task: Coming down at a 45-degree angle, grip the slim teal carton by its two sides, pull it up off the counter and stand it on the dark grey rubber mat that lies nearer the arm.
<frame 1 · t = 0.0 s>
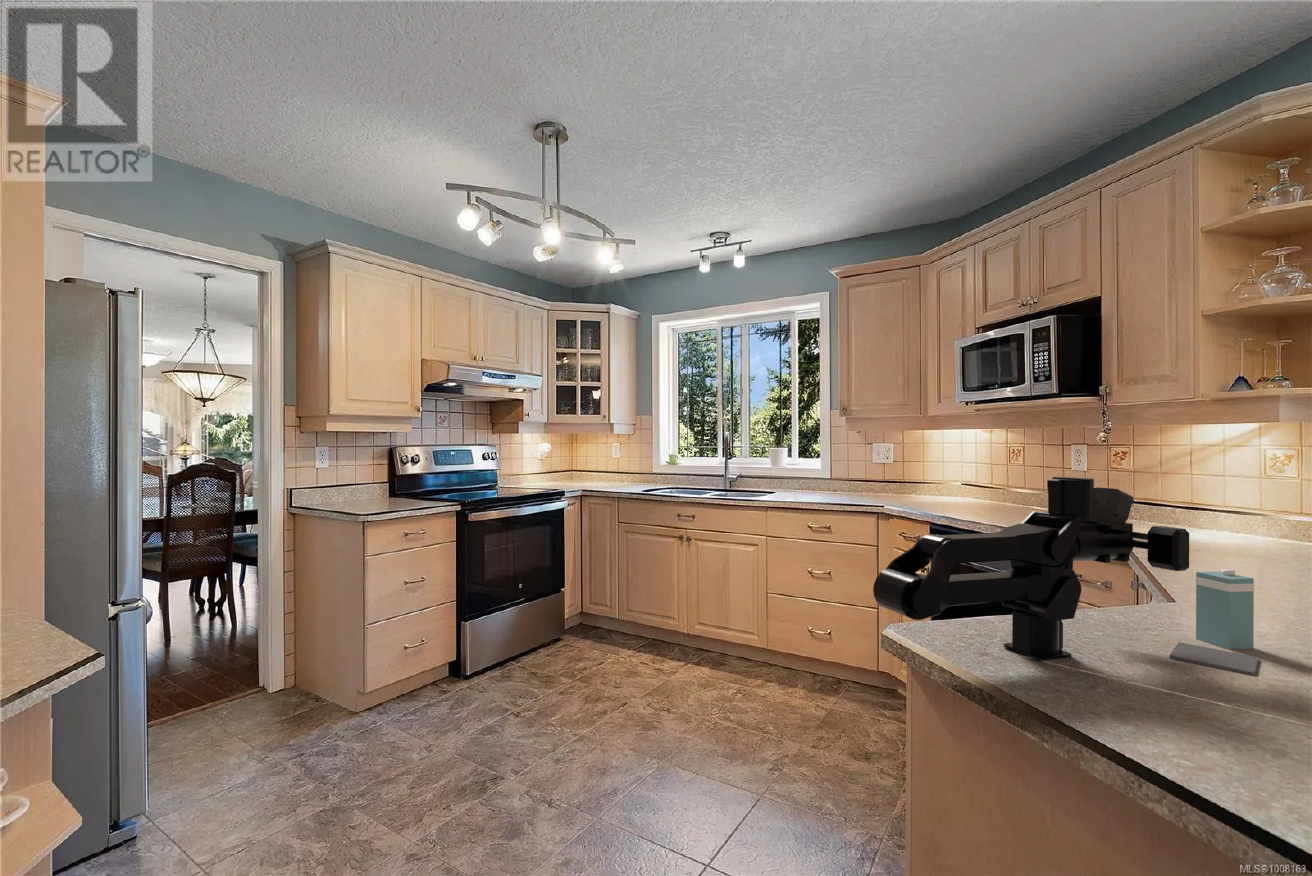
hand: (1156, 538, 99), 16 cm above the countertop, tool horizontal, fingers open, 9 cm apart
mat: (1213, 658, 89), on the countertop
carton: (1224, 643, 96), on the countertop
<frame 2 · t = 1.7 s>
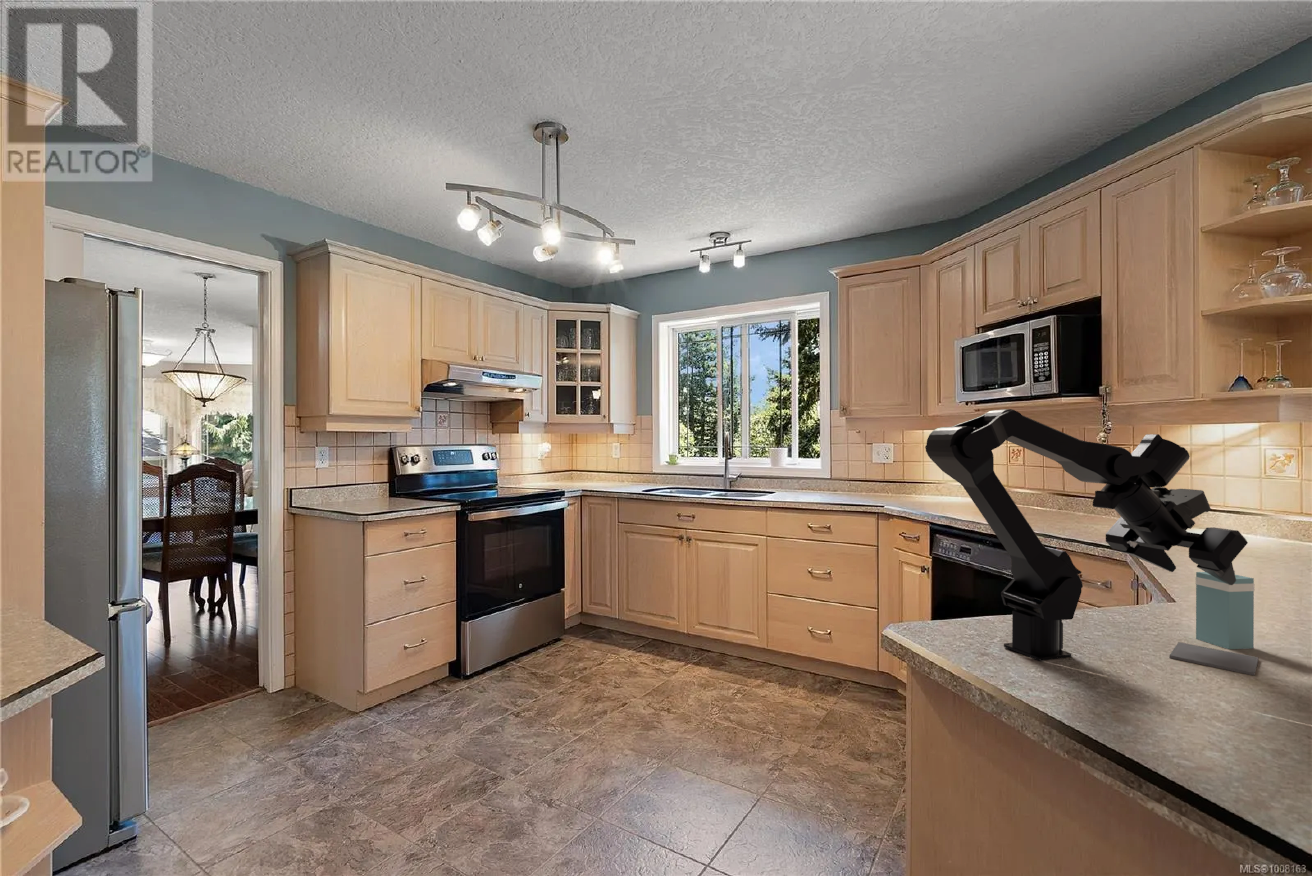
hand: (1201, 576, 96), 11 cm above the countertop, tool tilted 45°, fingers open, 9 cm apart
nothing on the countertop moved.
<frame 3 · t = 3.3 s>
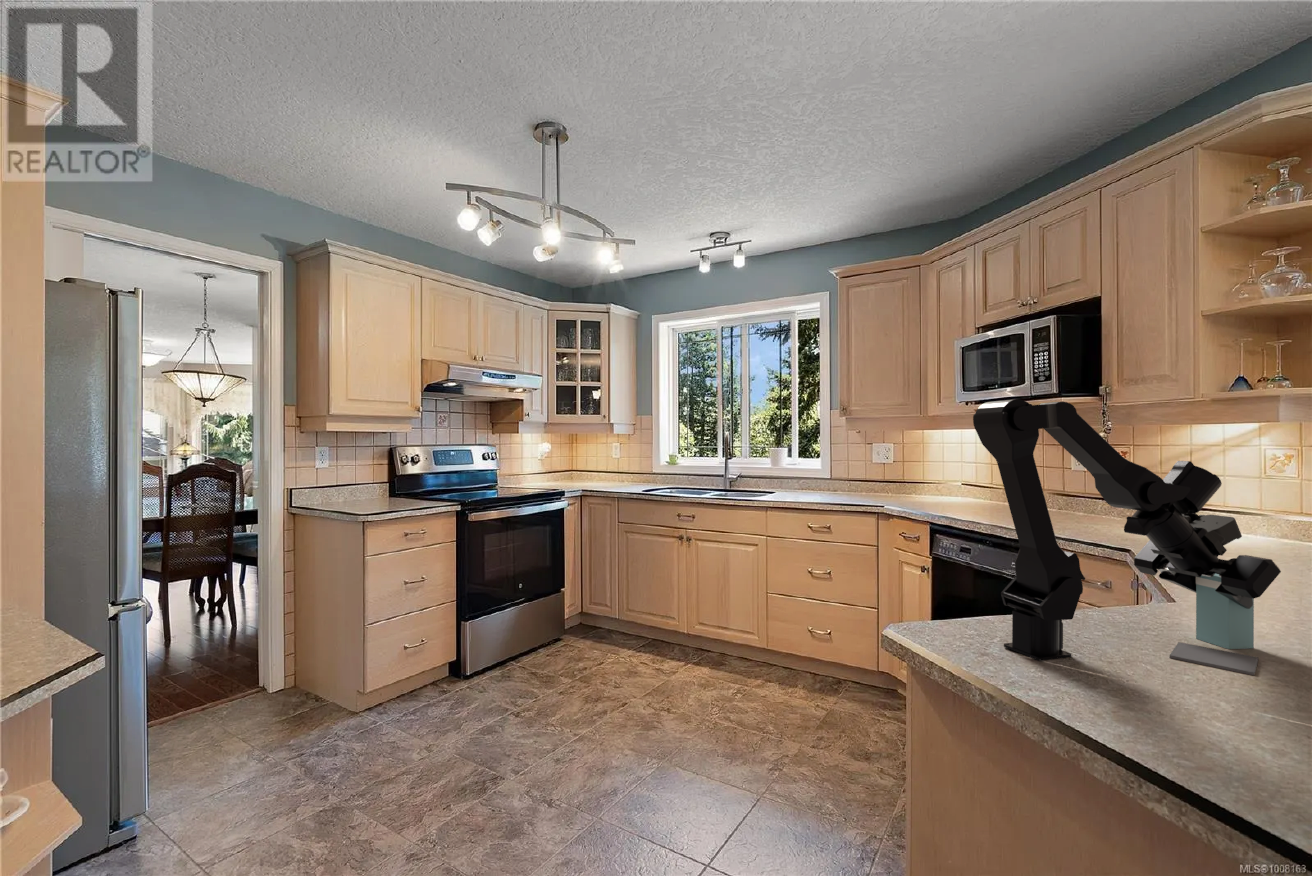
hand: (1231, 602, 97), 7 cm above the countertop, tool tilted 45°, fingers closed on carton, 5 cm apart
carton: (1224, 643, 96), on the countertop, touching gripper
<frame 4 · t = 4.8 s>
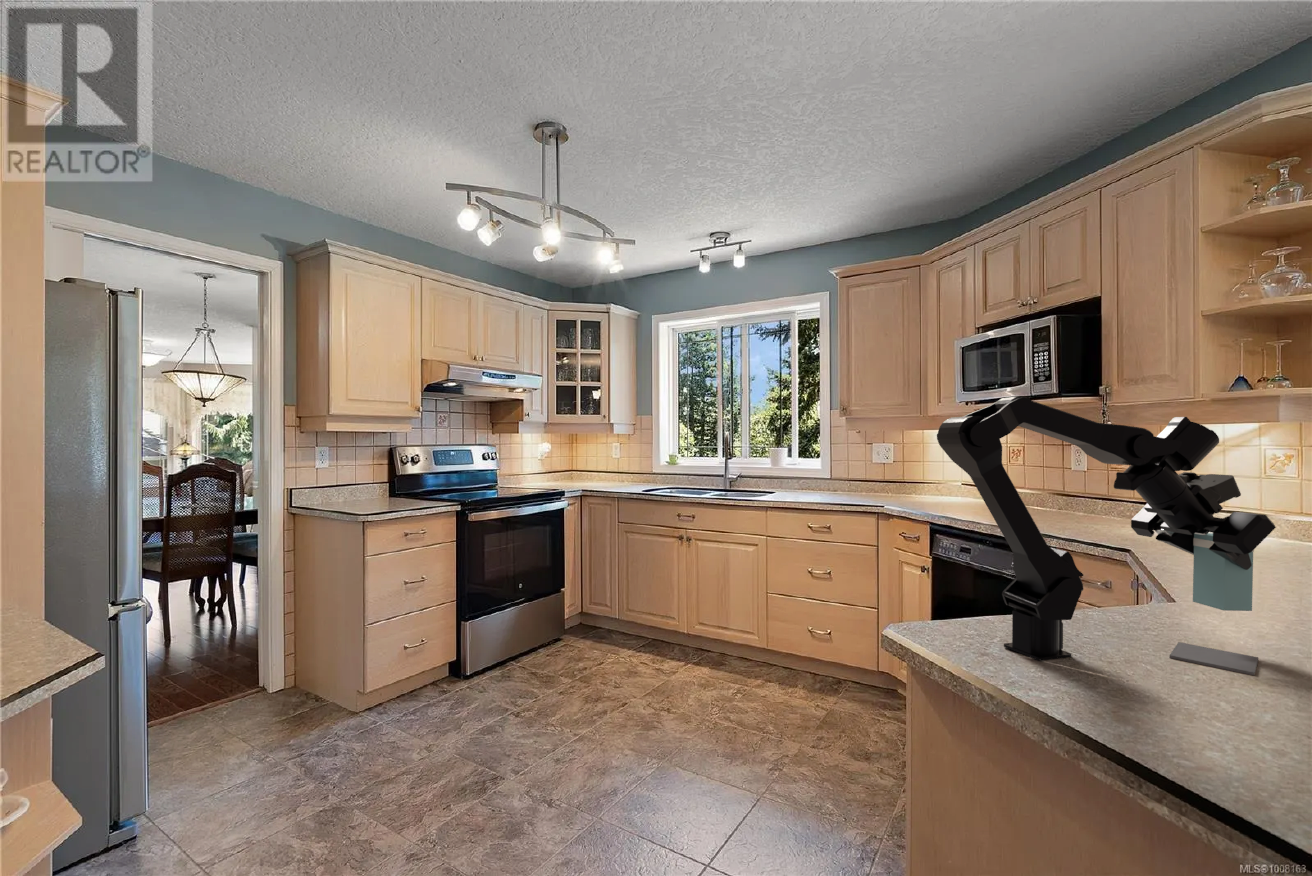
hand: (1230, 564, 93), 13 cm above the countertop, tool tilted 45°, fingers closed on carton, 5 cm apart
carton: (1221, 606, 93), point 7 cm above the countertop, touching gripper
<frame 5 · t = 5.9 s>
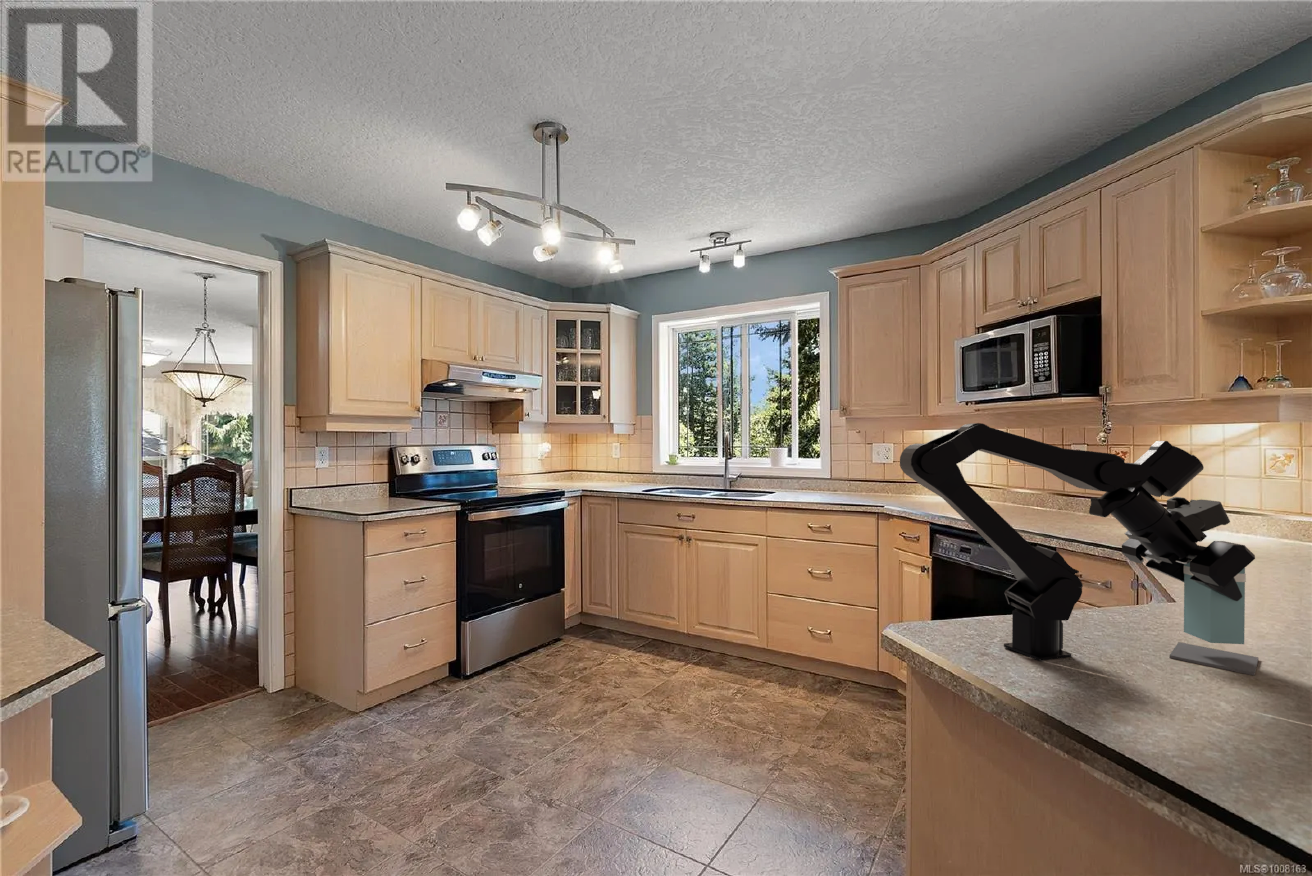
hand: (1223, 594, 89), 10 cm above the countertop, tool tilted 45°, fingers closed on carton, 5 cm apart
carton: (1213, 638, 89), point 3 cm above the countertop, touching gripper
when the fingers open (8 cm above the countertop, at t = 6.6 s): carton drops 1 cm, resting on mat.
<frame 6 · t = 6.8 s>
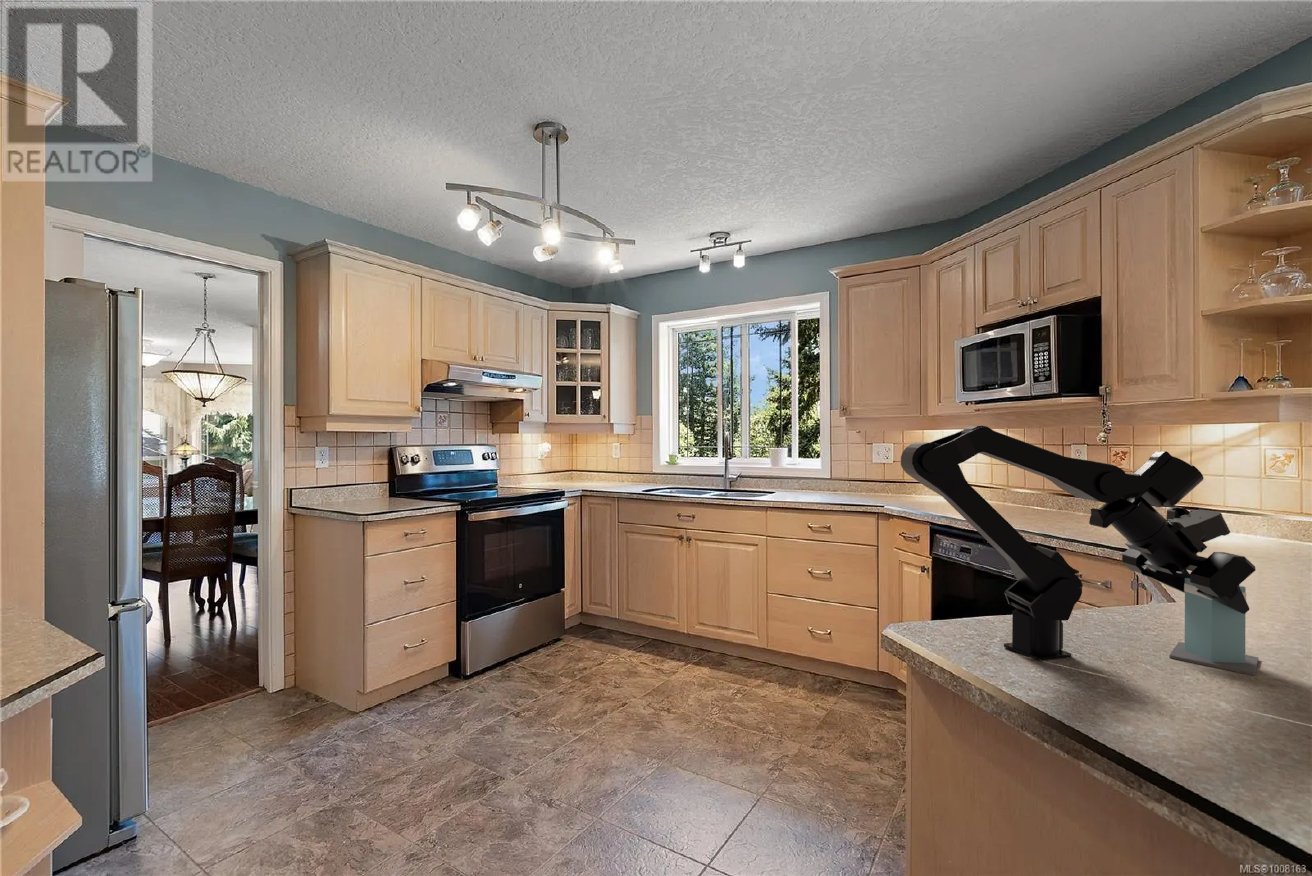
hand: (1224, 604, 89), 8 cm above the countertop, tool tilted 45°, fingers open, 7 cm apart
carton: (1214, 656, 89), resting on mat
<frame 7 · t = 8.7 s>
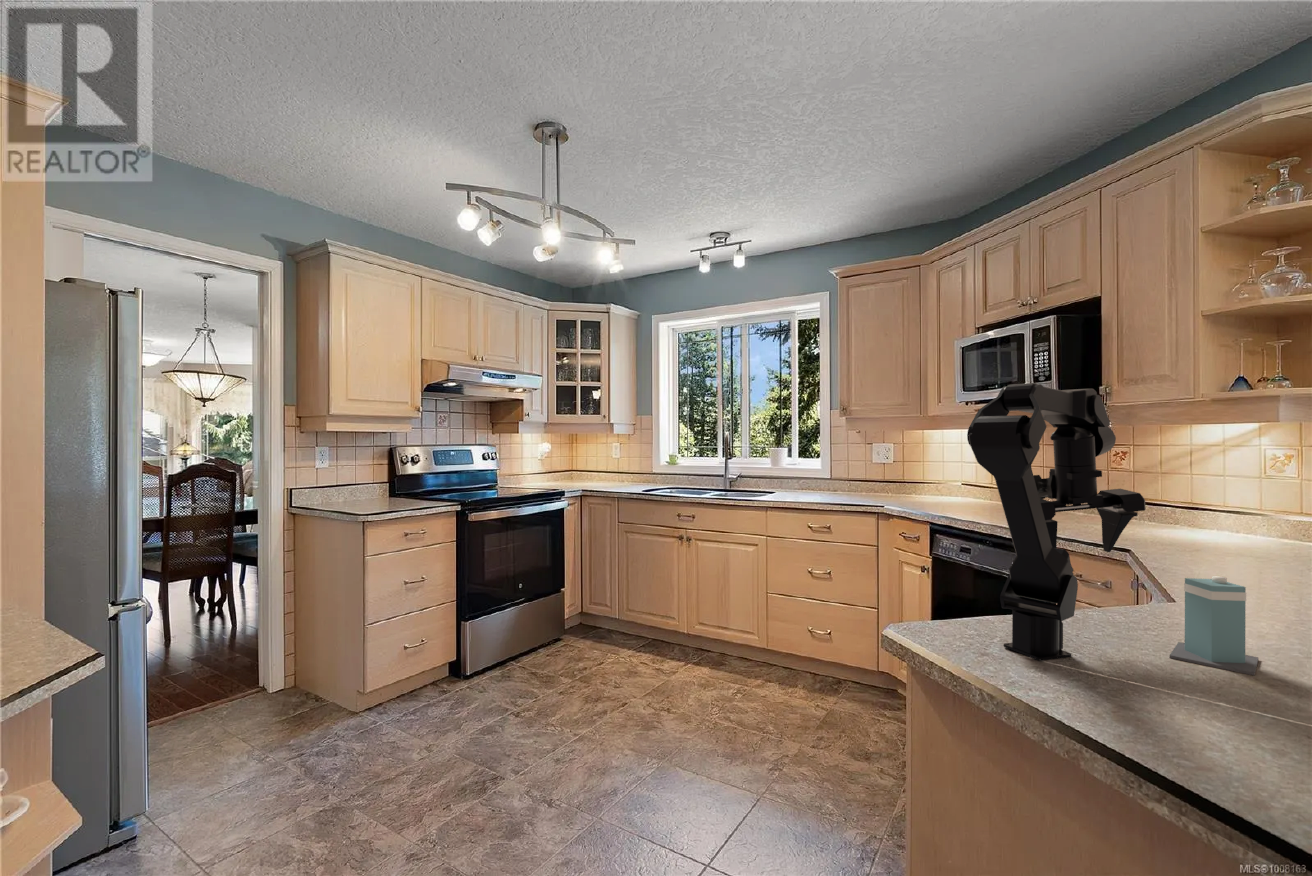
hand: (1079, 554, 102), 13 cm above the countertop, tool pointing down, fingers open, 9 cm apart
nothing on the countertop moved.
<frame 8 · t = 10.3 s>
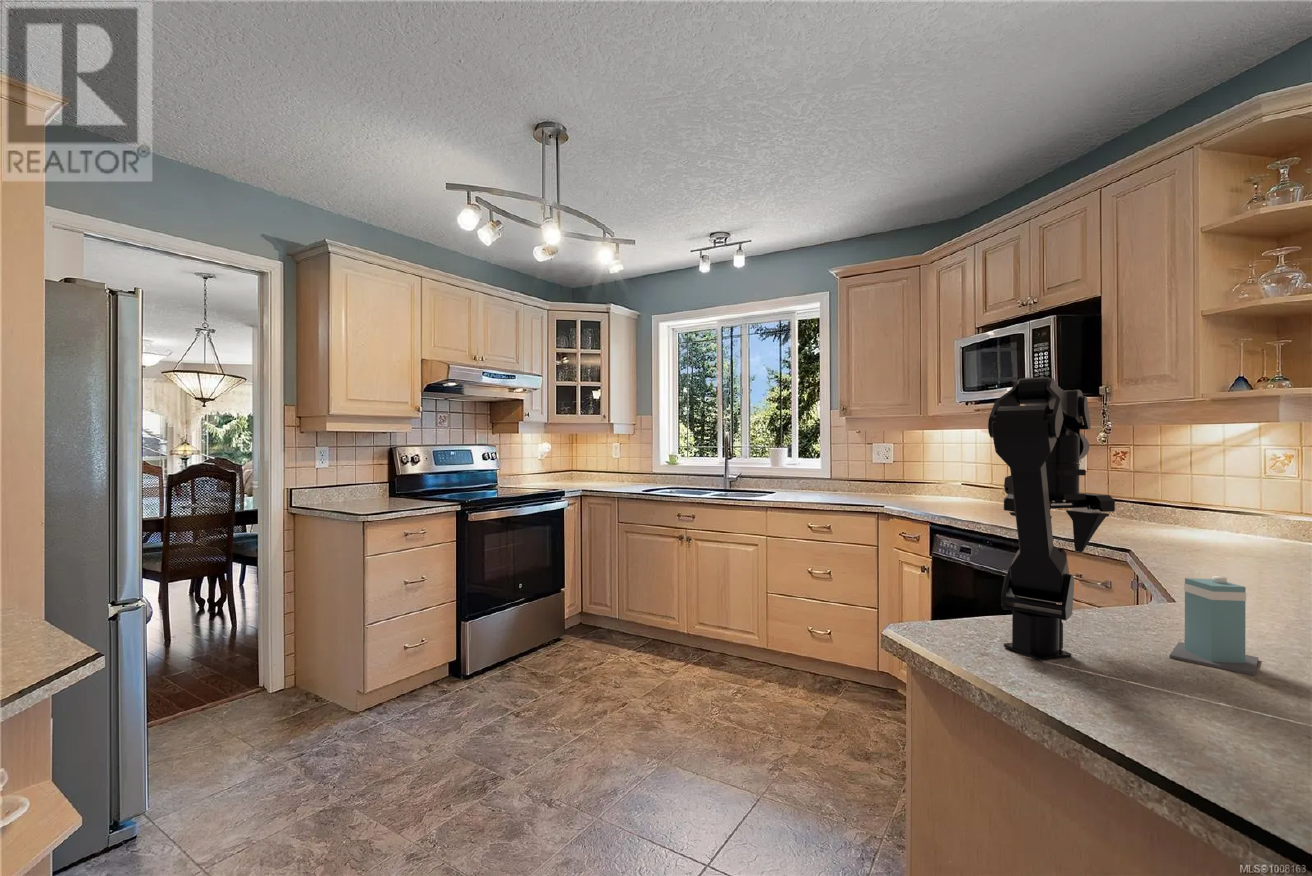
hand: (1058, 553, 104), 13 cm above the countertop, tool pointing down, fingers open, 9 cm apart
nothing on the countertop moved.
at the end: carton inside the target area on the mat (0.0 cm from its centre), point 0.4 cm above the mat's base; carton tilted 0°; the gripper is holding nothing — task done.
